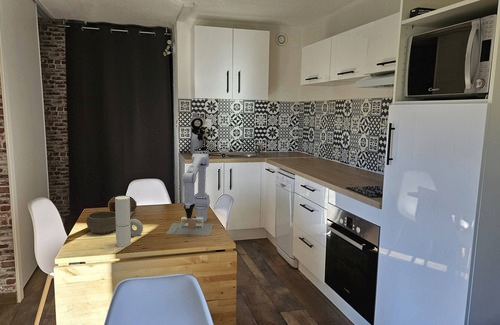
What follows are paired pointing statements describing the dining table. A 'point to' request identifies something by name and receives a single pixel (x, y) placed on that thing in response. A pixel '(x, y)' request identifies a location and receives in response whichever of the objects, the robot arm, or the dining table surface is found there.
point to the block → (192, 224)
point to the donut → (137, 224)
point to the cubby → (183, 229)
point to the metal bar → (174, 230)
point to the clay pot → (112, 205)
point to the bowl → (101, 222)
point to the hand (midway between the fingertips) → (189, 217)
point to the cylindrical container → (122, 221)
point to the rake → (190, 218)
